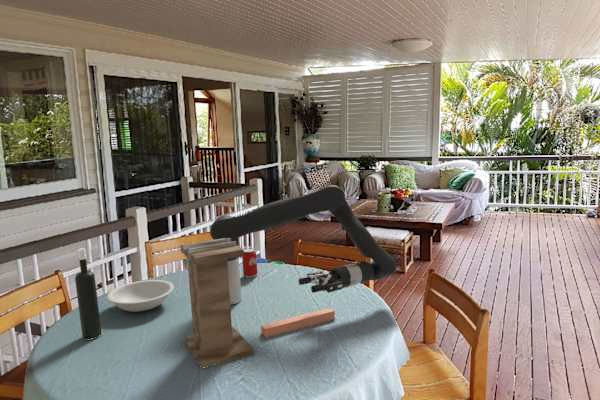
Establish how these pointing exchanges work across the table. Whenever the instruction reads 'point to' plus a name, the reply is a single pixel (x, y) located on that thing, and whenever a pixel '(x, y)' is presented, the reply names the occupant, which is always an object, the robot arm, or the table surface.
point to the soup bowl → (140, 295)
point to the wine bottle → (87, 299)
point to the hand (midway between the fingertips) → (305, 285)
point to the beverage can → (249, 263)
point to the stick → (297, 322)
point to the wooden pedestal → (213, 303)
